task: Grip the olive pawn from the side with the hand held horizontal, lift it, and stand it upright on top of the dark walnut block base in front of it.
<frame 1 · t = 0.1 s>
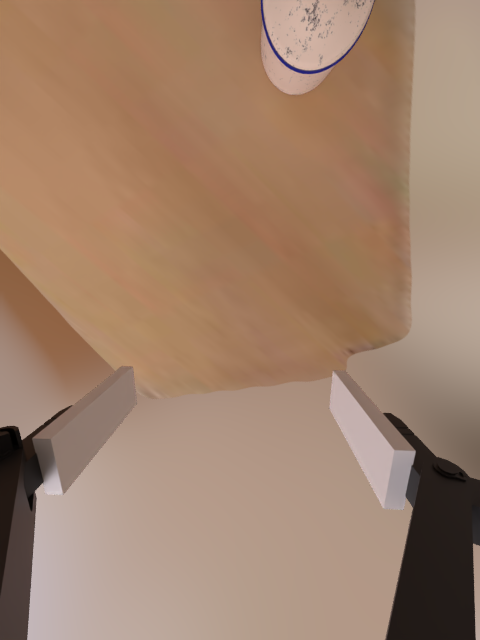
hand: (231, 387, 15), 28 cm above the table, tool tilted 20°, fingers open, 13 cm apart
teacup with lid: (293, 27, 26), on the table
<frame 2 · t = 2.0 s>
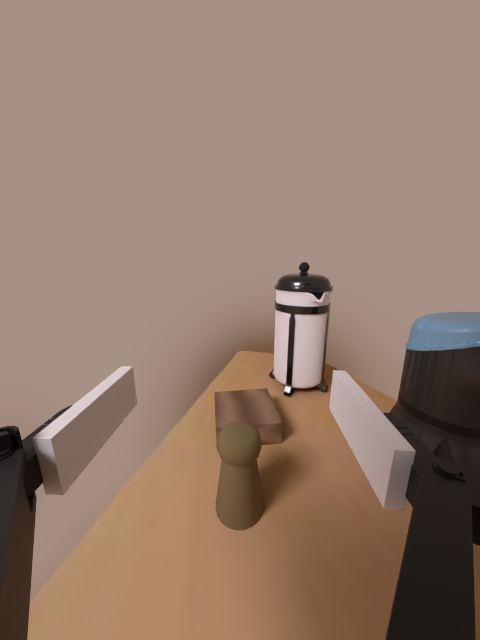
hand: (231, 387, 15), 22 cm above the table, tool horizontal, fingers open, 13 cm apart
olive pawn: (239, 505, 30), on the table
walnut base: (244, 424, 45), on the table
coffee press: (293, 381, 61), on the table
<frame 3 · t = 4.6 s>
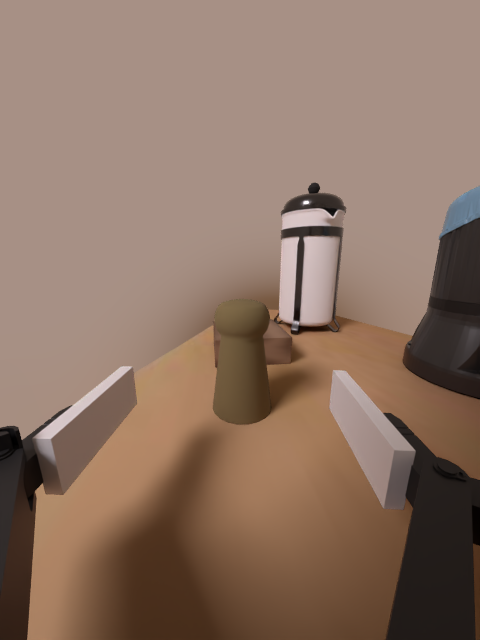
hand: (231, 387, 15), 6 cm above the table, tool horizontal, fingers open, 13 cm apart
olive pawn: (241, 406, 25), on the table
walnut base: (247, 351, 39), on the table
coffee press: (300, 326, 56), on the table
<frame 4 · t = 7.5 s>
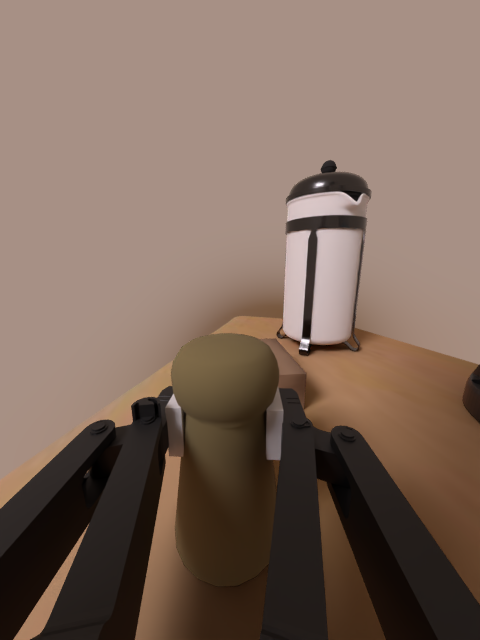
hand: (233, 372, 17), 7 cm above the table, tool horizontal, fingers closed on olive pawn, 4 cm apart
olive pawn: (228, 520, 14), on the table, touching gripper
walnut base: (242, 385, 29), on the table
coffee press: (309, 342, 45), on the table
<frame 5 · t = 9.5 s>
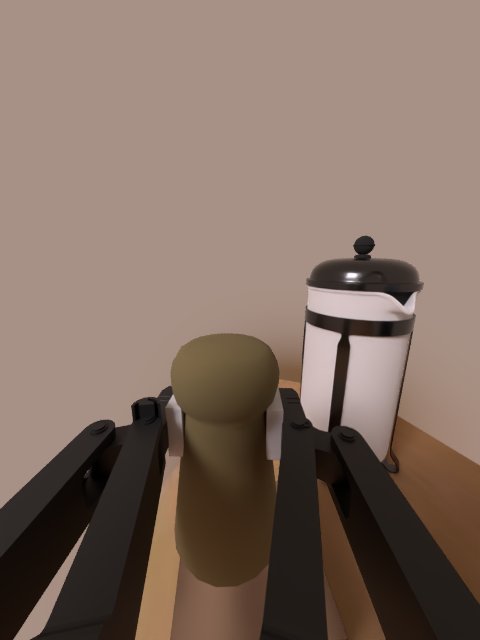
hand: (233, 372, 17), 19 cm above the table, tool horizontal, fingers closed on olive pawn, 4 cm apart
olive pawn: (228, 521, 14), point 12 cm above the table, touching gripper
walnut base: (247, 579, 20), on the table
coffee press: (331, 442, 36), on the table
when the fingers open (12 cm above the table, at t = 11.6 s): olive pawn drops 2 cm, resting on walnut base.
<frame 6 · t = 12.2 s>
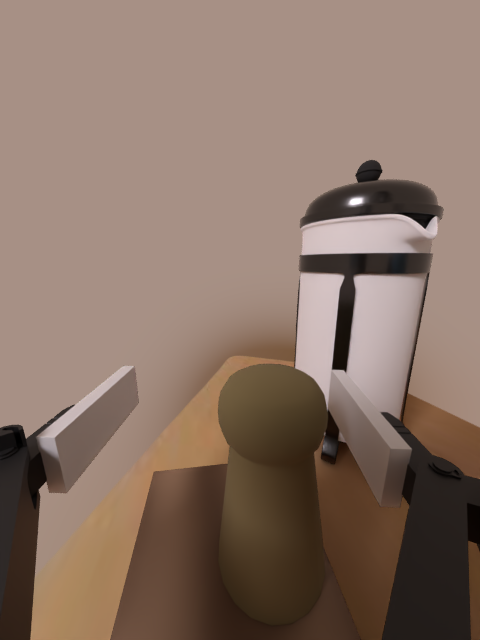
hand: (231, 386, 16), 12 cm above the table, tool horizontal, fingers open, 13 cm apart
olive pawn: (270, 550, 14), point 4 cm above the table, touching walnut base
walnut base: (229, 586, 15), on the table
coffee press: (331, 419, 32), on the table
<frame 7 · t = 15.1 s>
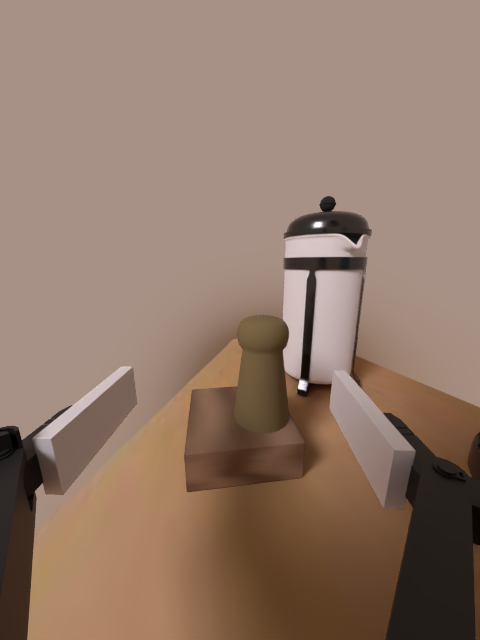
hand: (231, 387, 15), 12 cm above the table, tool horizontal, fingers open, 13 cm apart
olive pawn: (261, 415, 26), point 4 cm above the table, touching walnut base
walnut base: (238, 441, 27), on the table
coffee press: (308, 375, 44), on the table
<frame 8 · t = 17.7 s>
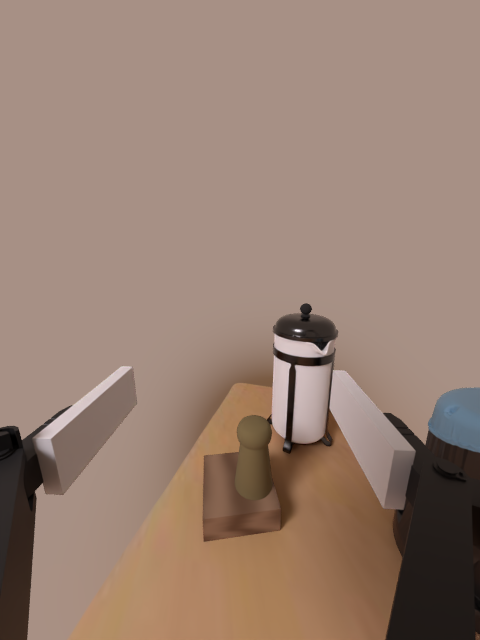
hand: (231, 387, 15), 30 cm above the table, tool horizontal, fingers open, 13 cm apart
olive pawn: (253, 482, 38), point 4 cm above the table, touching walnut base
walnut base: (238, 498, 39), on the table
coffee press: (293, 429, 55), on the table
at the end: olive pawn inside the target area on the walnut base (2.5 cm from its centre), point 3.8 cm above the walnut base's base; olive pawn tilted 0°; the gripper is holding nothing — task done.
